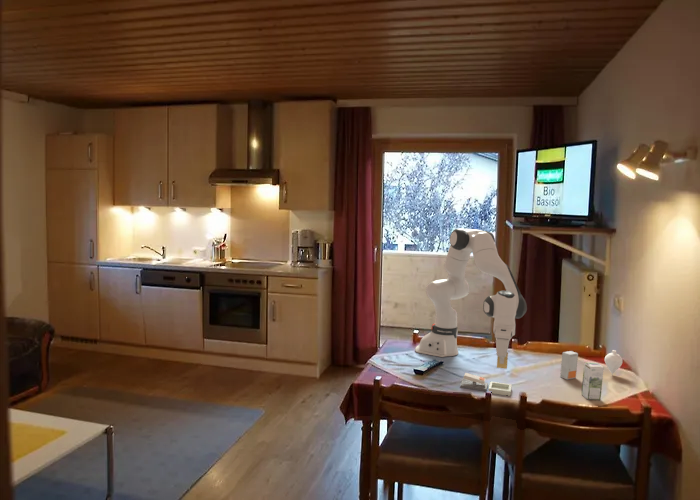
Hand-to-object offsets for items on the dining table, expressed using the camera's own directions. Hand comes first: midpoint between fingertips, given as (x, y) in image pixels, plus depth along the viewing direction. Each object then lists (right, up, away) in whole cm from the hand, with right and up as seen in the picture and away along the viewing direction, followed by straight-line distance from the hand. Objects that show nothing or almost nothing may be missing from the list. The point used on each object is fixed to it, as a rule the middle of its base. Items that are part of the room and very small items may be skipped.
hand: (502, 361), depth 233 cm
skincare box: (+37, -12, +21) cm, 44 cm away
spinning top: (+60, -12, +27) cm, 67 cm away
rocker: (-10, -9, +6) cm, 15 cm away
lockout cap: (0, -2, 0) cm, 2 cm away
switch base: (-11, -12, +6) cm, 17 cm away
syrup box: (+37, -15, -3) cm, 39 cm away
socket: (-1, -13, +2) cm, 13 cm away
